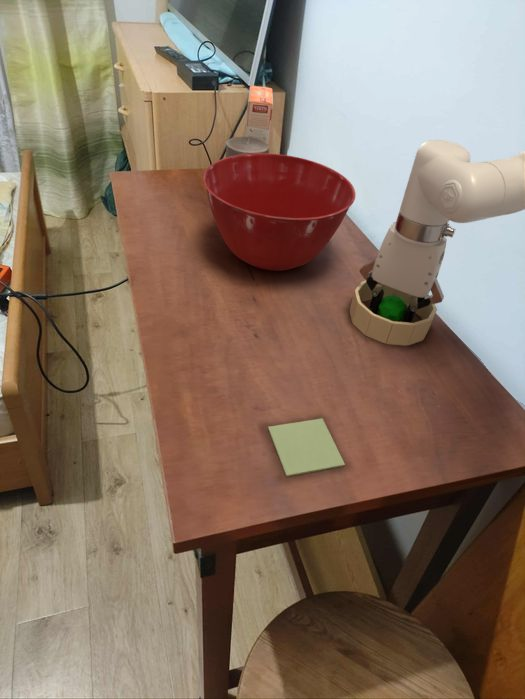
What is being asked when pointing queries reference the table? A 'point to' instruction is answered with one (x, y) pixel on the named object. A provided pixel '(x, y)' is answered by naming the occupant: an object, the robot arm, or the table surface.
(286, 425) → the mat
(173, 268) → the table surface
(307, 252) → the mixing bowl
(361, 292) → the hollow cylinder
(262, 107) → the cracker box
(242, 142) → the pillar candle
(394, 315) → the polyhedron
